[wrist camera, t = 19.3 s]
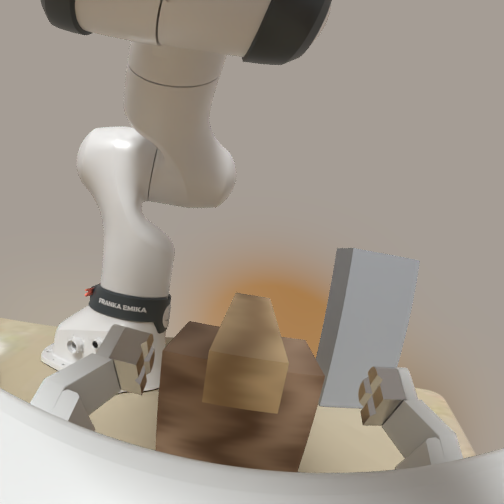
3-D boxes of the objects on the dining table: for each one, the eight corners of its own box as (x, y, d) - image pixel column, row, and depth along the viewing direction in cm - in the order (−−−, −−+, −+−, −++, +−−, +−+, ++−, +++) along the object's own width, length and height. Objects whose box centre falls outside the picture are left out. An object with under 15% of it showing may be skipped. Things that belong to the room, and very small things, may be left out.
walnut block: (154, 490, 22) (162, 350, 22) (176, 438, 32) (189, 321, 32) (283, 510, 22) (325, 376, 22) (277, 454, 32) (305, 340, 32)
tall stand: (319, 406, 47) (353, 248, 47) (310, 382, 57) (337, 248, 57) (384, 408, 47) (419, 260, 46) (366, 387, 57) (395, 259, 56)
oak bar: (201, 401, 15) (209, 350, 15) (232, 317, 37) (235, 292, 37) (277, 413, 15) (288, 363, 15) (265, 322, 37) (269, 298, 37)
